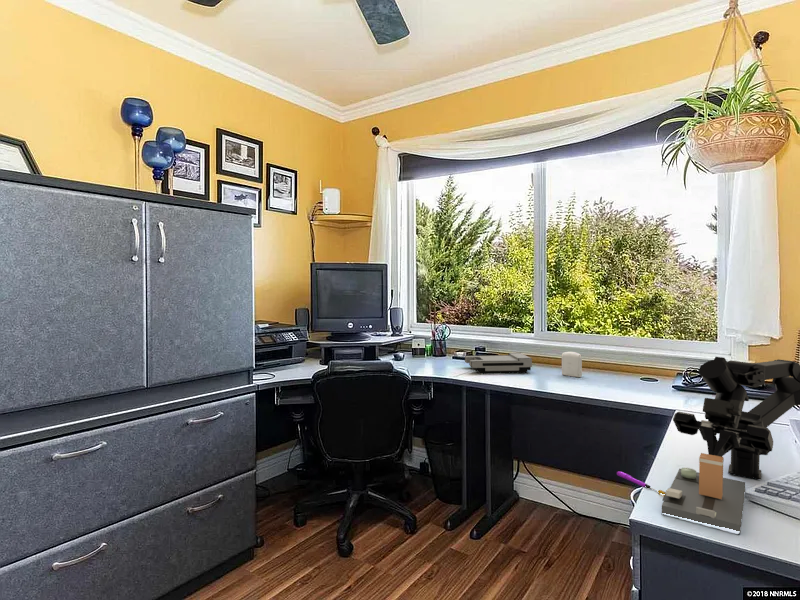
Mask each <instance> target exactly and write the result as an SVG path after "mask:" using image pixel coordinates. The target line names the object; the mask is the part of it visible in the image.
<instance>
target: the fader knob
mask: <svg viewBox="0 0 800 600" xmlns="http://www.w3.org/2000/svg"><path fill="white" fill-rule="evenodd" d="M724 460H725V459H724V456H722V457H720V456H715V455H709V454H707V453H703V452H701V453H700V454H699V457H698V463H699V464H698V466H699V467H698V468H699V470H698V472H699V494H701V495H705V496H709V497H714V498H718V499H722V495H723V478H724Z"/></svg>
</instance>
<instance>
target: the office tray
mask: <svg viewBox="0 0 800 600" xmlns="http://www.w3.org/2000/svg"><path fill="white" fill-rule="evenodd" d="M464 362H465V363H466V364H469V367H470V368H471V369H474V370H475V372H478V373H479V372H480V373H505V374H528V371H532V370H531V369H532V367H533V358H532V357H530V356H527V355H526V354H523V353H522V352H508V353H507V354H505V355H504V354H499V355H498V354H495V355H493V354H491V355H490V354H489V355H485V354H484V355H482V354H481V355H464Z"/></svg>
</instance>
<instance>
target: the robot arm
mask: <svg viewBox="0 0 800 600" xmlns="http://www.w3.org/2000/svg"><path fill="white" fill-rule="evenodd" d="M698 368H699V369H698V373H699V375H700V376H701V378H702V379H703V381H704V382H705V383H706V385H707V386H708V388H709V389H710V390H711V391H712V392H715V393H716V394H715V396H714V398H710V397H709V398H708V397H704V401H703V406H702V413H705V414H704V418H705V420H704V419H701V421H700V420H697V418H696V416H695V414H694V413H689V412H683V411H677V412H675V413H674V415H673V418H672V421H673V423H674V426H675V427H676V429H677V431H678V432H679V433H681V434H686V435H690V436H695V435H697V434H698V433H700V434H701V437H702V440H703V441H705V442H706V443H707V444H706V445H707V453H708V454H709V455H715V456H720V457H724V456H725V455H726V454H727V453H729V452H730V464H729V465H728V469H727V474H729V473H731V474H730V475H733V474H735V475H734V476H738V475H740V476H739V477H743V476H745V477H744V478H747V477H750V478H749V479H752V478H756V479H755V480H757V479H761V480H762V469H760V456H768V455H769V453H770V452H772V451H773V448H774V439H773V436H772V433H771V430H770V429H769V427H770V425H772V424H773V423H774V422H775V421H777V420H778V419H780V418H781V417H782V416H783V415H785V414H786V413H787V412H788V411H789V410H791V409H792V408H793V407H794V406H800V363H799V362H796V361H794V360H786V359H779V358H778V359H774V360H769V361H762V362H746V361H739V360H738V361H737V360H729V361H727V359H726V358H725V357H724V356H715V357H714V359H711V360H708V361H706V362H704V363H702V364H701V365H700V366H699V367H698ZM767 380H771V383H772V385H773V386H774V387H775V391H774V392H773V393H771V394H770V395H769V396H767V397H766V398H765V399H764V400H762V401H761V402H759V403H758V404H756V405H755V406H754V407H753V408H752V409H750V410H749V411H744V410H743V409H744V405H745V402H749V401H750V399H749V398H750V397H749V396H748V391H747V390H746V389H745V386H746V387H750V388H759V387H760V386H763V385H764V384H766V381H767ZM698 431H699V432H698ZM718 434H719V436H718V437H717V435H718Z"/></svg>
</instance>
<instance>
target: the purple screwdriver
mask: <svg viewBox="0 0 800 600" xmlns="http://www.w3.org/2000/svg"><path fill="white" fill-rule="evenodd" d="M616 475H617V476H618V477H620V478H622V479H625V480H626V481H630V482H632V483H634V484H636V485H638V486H640V487H643V488H645V486H646V487H647V488H651V489H650V490H652V489H653V490H652V491H654V490H656V489H655V488H652V487H651V485H648V484H647V483H646V482H644V481H641V480H639V479H637V478H634V477H633V476H632V475H630V474H628V473H625V472H623V471H616ZM647 488H646V489H647ZM657 491H658V492H659V493H662V494H665V493H666V491H664V490H661V489H658V490H656V491H655V492H657ZM658 492H657V493H658Z"/></svg>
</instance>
